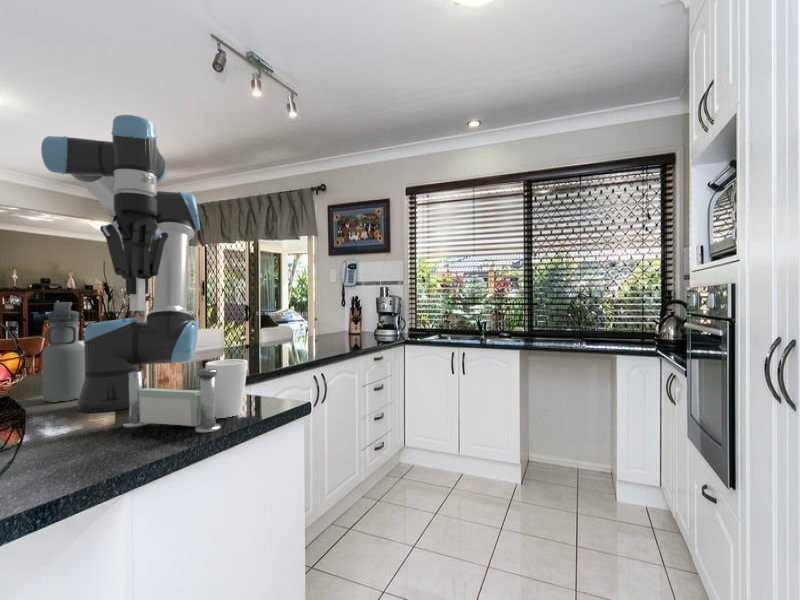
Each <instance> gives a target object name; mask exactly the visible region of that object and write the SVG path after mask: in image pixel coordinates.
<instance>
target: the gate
mask: <svg viewBox="0 0 800 600" xmlns="http://www.w3.org/2000/svg"><path fill="white" fill-rule="evenodd" d="M139 396H140V422H143V423H148V424H158V425H159V424H160V425H173V426H174V425H175V426H176V425H177V426H187V427H198V426H200V390H198V389H197V390H194V389H172V388H153V387H145V388H142V389H140V390H139Z"/></svg>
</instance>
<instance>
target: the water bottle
mask: <svg viewBox="0 0 800 600" xmlns="http://www.w3.org/2000/svg"><path fill="white" fill-rule="evenodd" d="M72 306H73V302H72V301H67V302H66V301H60V302H59V301H58V302H57V301H56V302H55V301H54V305H53V311H50V312H48V313H47V318H48V319H47V320H48V322H47V325H49V327H48V329H47V343H48V345H47V346H45V347H44V348H43V350H42V351H41V352H42V353H41V355H42V356H41V357H42V358H41V359H42V398H43V402H46V401H67V402H70V401H69V400H73V401H75V400H74V399H77V400H78V399H79V398H80V394H81V390H82V387H83V384H84V381H85V351H84V344H81V343H80V342H79V323H80V312H78V311H76V310H71V309H72Z"/></svg>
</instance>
